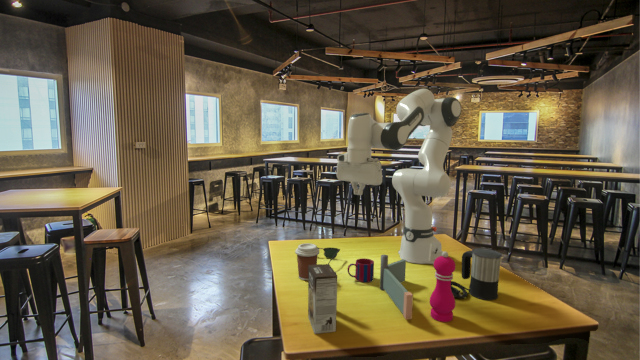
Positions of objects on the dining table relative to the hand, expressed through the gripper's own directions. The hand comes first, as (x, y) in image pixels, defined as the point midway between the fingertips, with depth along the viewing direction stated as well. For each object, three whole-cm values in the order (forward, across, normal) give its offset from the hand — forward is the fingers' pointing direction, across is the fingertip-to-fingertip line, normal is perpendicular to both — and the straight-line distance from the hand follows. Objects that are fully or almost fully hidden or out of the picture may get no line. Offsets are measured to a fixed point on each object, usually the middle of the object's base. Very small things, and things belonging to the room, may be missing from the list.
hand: (358, 194), depth 133 cm
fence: (+31, -15, +9) cm, 36 cm away
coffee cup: (+31, +10, +16) cm, 37 cm away
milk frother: (+31, -37, -18) cm, 52 cm away
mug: (+31, -4, +2) cm, 32 cm away
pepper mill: (+31, -38, +4) cm, 50 cm away
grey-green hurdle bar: (+30, -25, +8) cm, 40 cm away
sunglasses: (+32, +19, +4) cm, 37 cm away
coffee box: (+31, -19, +34) cm, 50 cm away
